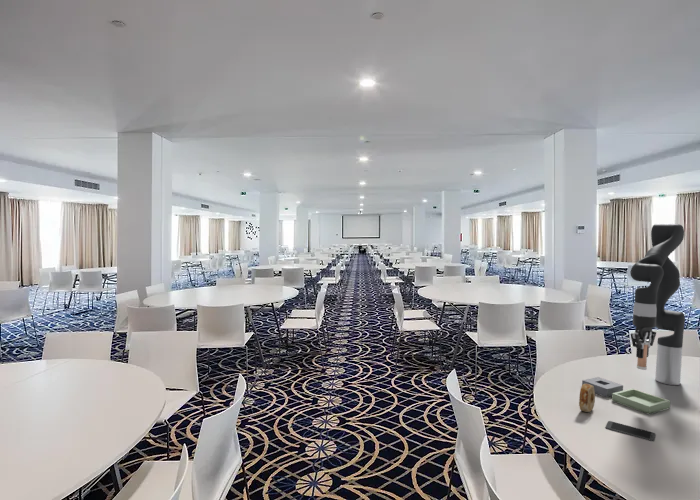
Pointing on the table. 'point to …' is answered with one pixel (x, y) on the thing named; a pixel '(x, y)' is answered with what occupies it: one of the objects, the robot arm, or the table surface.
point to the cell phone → (630, 431)
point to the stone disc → (587, 398)
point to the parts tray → (641, 401)
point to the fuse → (643, 361)
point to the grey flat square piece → (603, 386)
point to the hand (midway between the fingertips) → (642, 357)
